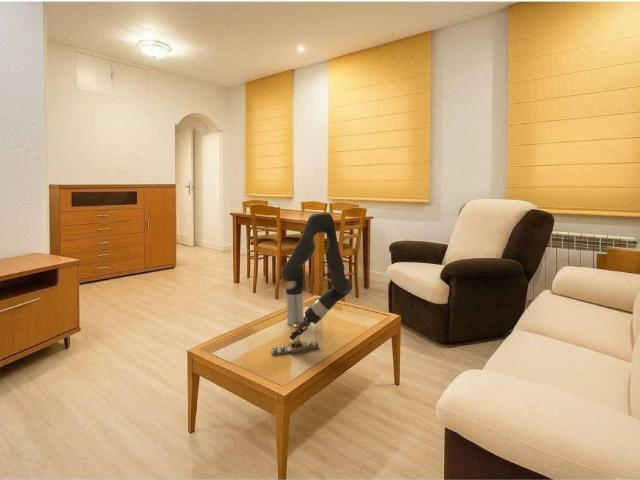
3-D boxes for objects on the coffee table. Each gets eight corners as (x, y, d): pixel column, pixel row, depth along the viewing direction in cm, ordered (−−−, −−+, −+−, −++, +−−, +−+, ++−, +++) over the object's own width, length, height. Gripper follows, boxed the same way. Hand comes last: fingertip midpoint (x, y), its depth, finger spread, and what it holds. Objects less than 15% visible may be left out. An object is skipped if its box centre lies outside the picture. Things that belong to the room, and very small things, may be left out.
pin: (292, 349, 179) (291, 324, 177) (299, 348, 180) (298, 323, 178) (294, 352, 176) (293, 326, 174) (300, 351, 177) (300, 325, 175)
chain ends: (270, 350, 178) (270, 344, 178) (316, 344, 184) (316, 338, 184) (273, 357, 171) (273, 350, 170) (320, 350, 177) (320, 344, 176)
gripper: (312, 300, 181) (287, 325, 184) (310, 310, 167) (283, 337, 170) (324, 311, 182) (299, 336, 184) (322, 321, 168) (295, 348, 170)
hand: (291, 336), depth 177 cm, fingers open, 4 cm apart
